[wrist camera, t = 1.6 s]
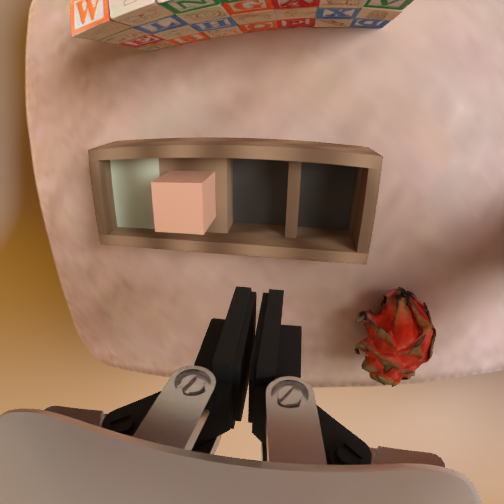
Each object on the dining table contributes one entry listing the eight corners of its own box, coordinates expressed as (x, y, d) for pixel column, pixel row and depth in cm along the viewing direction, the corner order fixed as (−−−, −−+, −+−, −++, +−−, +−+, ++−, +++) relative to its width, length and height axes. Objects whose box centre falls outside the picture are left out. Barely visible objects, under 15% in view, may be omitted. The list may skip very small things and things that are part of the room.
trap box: (368, 147, 26) (382, 156, 22) (356, 240, 30) (366, 264, 26) (116, 141, 29) (88, 150, 24) (124, 224, 33) (100, 244, 28)
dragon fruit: (373, 352, 38) (382, 264, 35) (433, 370, 32) (452, 278, 29) (339, 388, 33) (347, 290, 29) (408, 414, 27) (433, 311, 23)
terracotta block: (215, 171, 26) (201, 183, 23) (215, 216, 28) (203, 234, 24) (169, 170, 27) (150, 182, 23) (172, 214, 28) (155, 231, 25)
